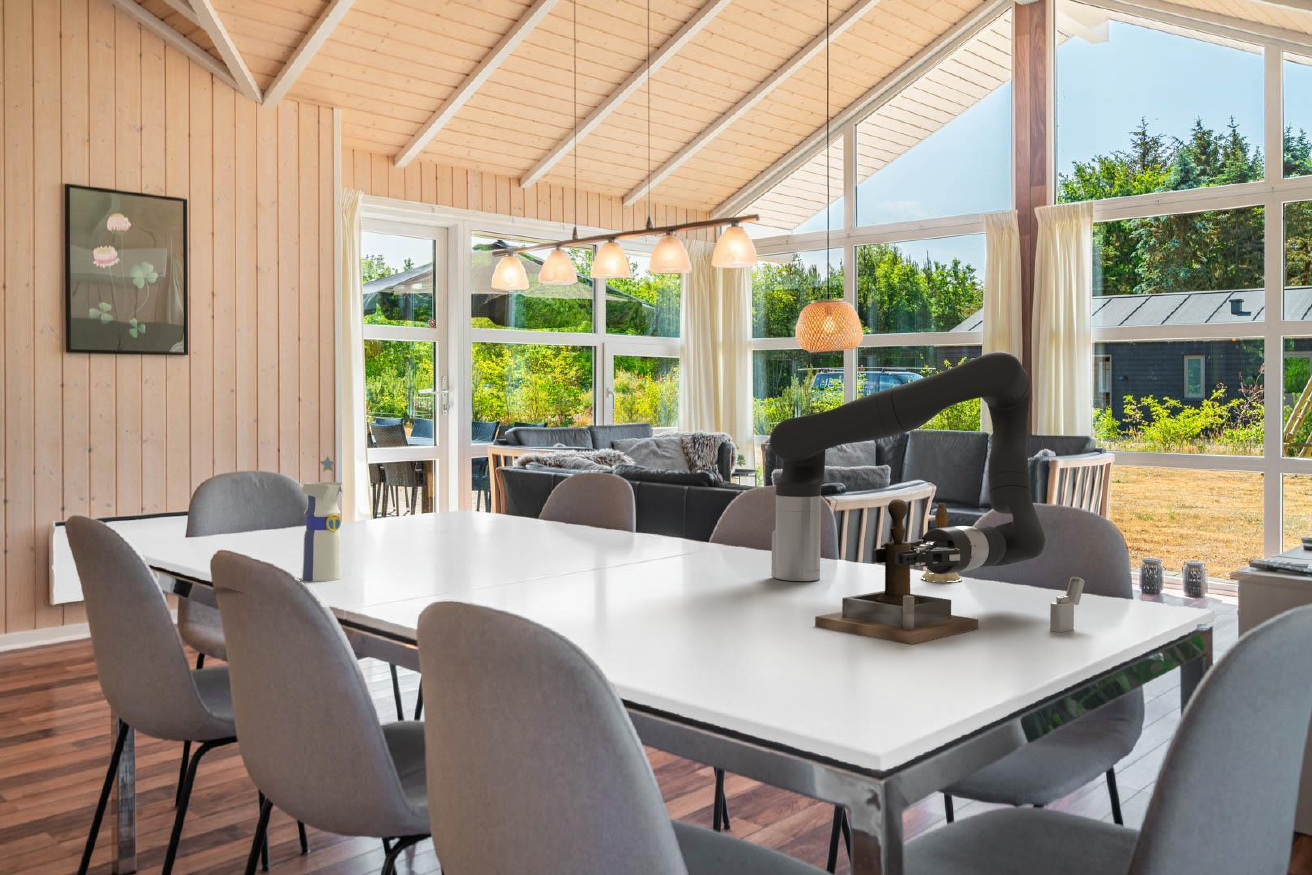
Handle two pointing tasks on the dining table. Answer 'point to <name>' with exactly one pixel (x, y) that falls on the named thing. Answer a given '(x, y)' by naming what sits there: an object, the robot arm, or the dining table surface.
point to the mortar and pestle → (894, 575)
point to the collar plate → (897, 618)
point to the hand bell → (941, 522)
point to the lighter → (1066, 607)
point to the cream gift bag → (322, 530)
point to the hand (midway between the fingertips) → (885, 557)
